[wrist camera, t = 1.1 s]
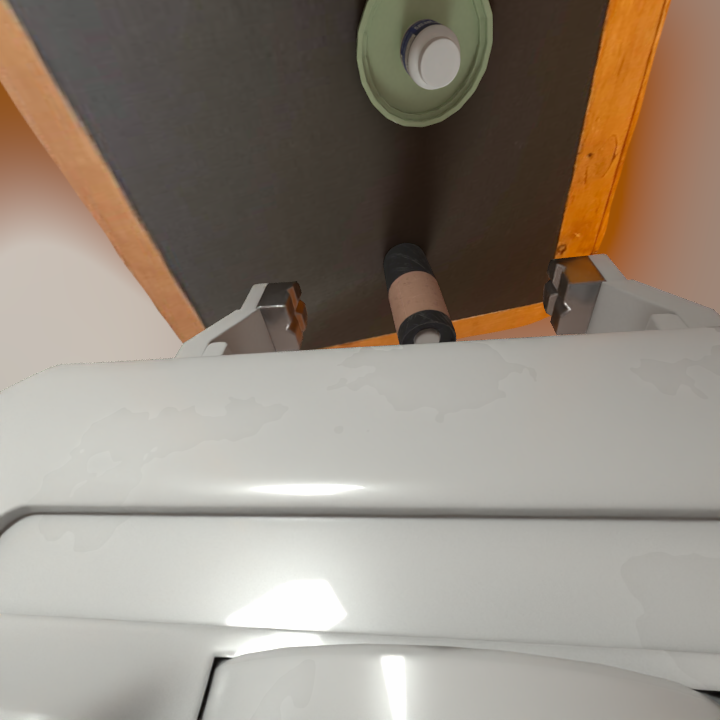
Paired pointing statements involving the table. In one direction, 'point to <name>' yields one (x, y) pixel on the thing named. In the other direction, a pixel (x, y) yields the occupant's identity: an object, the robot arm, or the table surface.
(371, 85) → the dish
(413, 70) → the pill bottle
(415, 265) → the travel mug
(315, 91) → the table surface
